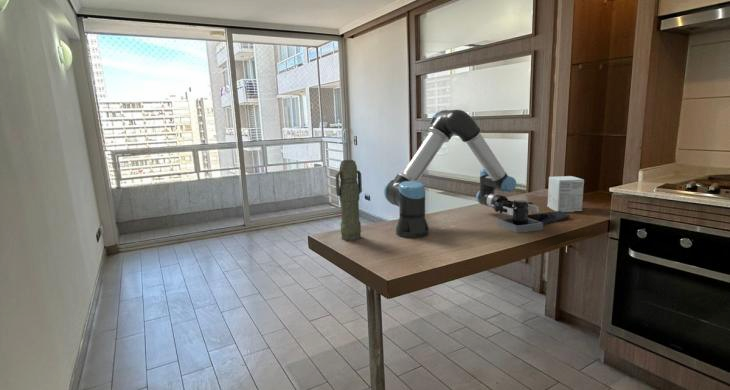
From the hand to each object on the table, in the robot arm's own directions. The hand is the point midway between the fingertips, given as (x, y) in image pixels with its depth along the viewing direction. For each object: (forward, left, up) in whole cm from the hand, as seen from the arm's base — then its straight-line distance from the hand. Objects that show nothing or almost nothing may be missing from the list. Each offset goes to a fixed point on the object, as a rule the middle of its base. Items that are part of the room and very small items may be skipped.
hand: (525, 210), depth 180 cm
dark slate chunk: (+21, +11, -9) cm, 26 cm away
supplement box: (+44, +24, -9) cm, 51 cm away
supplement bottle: (0, +3, -8) cm, 9 cm away
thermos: (-78, +17, -9) cm, 80 cm away
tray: (0, +3, -9) cm, 9 cm away
